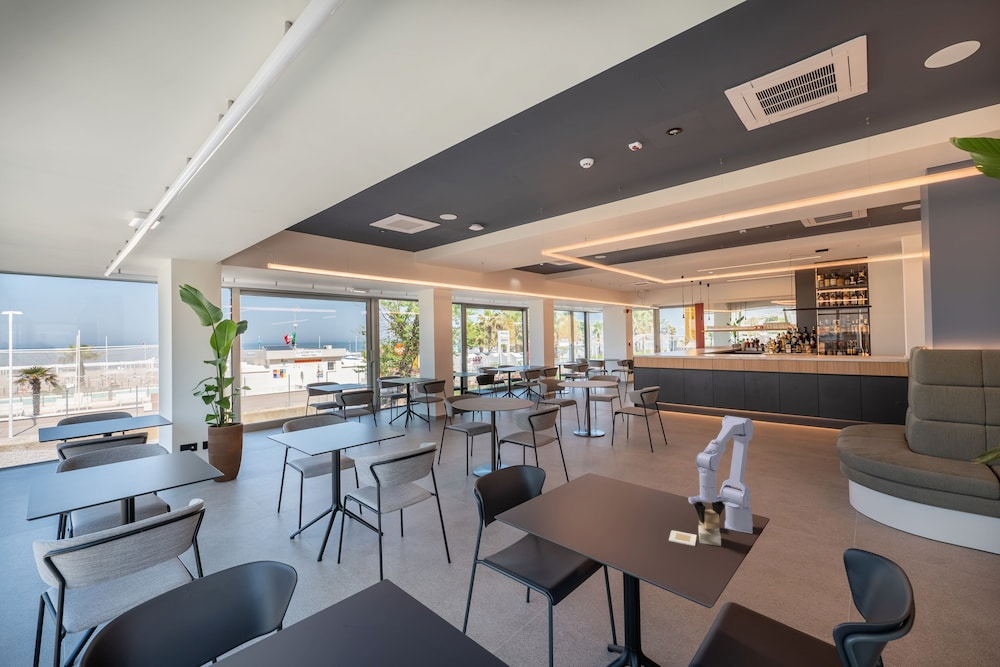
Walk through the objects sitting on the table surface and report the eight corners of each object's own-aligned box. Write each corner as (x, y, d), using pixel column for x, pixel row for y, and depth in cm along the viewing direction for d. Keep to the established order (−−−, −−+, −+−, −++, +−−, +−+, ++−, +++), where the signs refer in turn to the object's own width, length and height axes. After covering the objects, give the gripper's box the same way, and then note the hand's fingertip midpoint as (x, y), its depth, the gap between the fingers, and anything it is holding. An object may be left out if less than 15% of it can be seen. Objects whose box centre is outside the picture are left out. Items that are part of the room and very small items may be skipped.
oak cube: (711, 522, 157) (711, 509, 157) (719, 528, 152) (719, 514, 152) (699, 523, 157) (698, 509, 157) (706, 528, 152) (706, 515, 152)
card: (696, 536, 158) (696, 534, 158) (695, 546, 150) (695, 545, 150) (671, 531, 162) (671, 529, 162) (668, 541, 154) (668, 539, 154)
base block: (719, 538, 156) (718, 527, 156) (721, 547, 150) (720, 535, 150) (698, 535, 159) (698, 524, 159) (699, 543, 153) (699, 532, 153)
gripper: (720, 481, 159) (721, 516, 159) (683, 482, 159) (684, 518, 158) (731, 487, 152) (732, 524, 152) (693, 489, 151) (694, 526, 151)
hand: (709, 521), depth 155 cm, fingers closed on oak cube, 5 cm apart
